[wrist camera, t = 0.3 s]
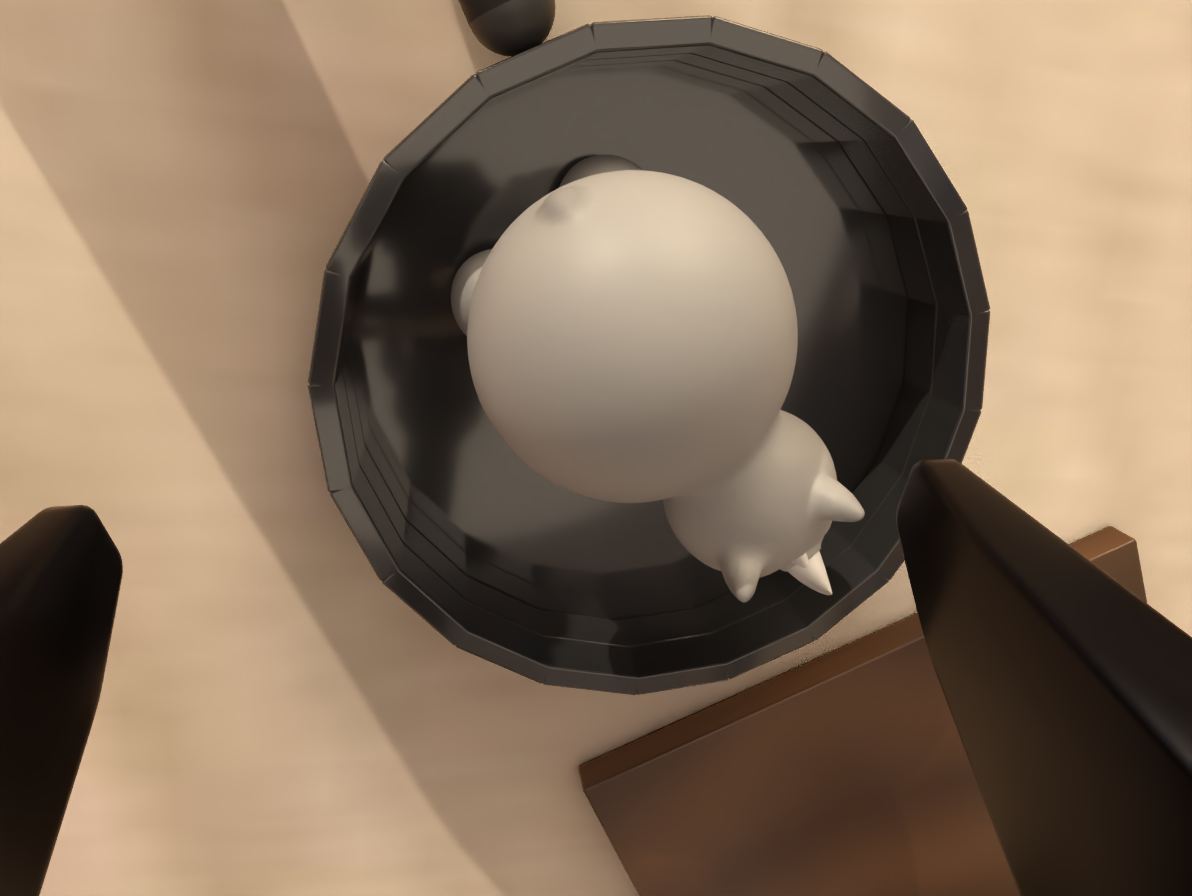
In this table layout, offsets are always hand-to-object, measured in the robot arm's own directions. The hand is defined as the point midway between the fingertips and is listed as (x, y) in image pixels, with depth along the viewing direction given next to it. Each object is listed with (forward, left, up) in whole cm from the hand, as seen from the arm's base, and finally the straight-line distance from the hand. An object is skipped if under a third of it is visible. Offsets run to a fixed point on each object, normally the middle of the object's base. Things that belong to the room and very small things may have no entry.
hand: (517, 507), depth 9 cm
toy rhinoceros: (-4, -3, -15) cm, 15 cm away
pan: (-4, -3, -15) cm, 16 cm away
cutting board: (-23, -6, -15) cm, 28 cm away
